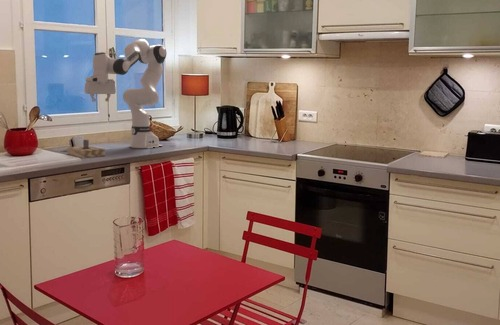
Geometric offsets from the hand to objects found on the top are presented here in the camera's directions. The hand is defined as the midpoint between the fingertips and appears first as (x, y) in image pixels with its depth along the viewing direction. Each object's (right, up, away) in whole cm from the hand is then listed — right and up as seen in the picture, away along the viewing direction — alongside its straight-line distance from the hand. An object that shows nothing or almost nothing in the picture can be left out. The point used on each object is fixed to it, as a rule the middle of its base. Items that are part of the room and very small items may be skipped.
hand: (100, 101), depth 345 cm
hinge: (-16, -30, +9) cm, 35 cm away
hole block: (-5, -33, -13) cm, 36 cm away
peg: (-5, -33, -13) cm, 36 cm away
